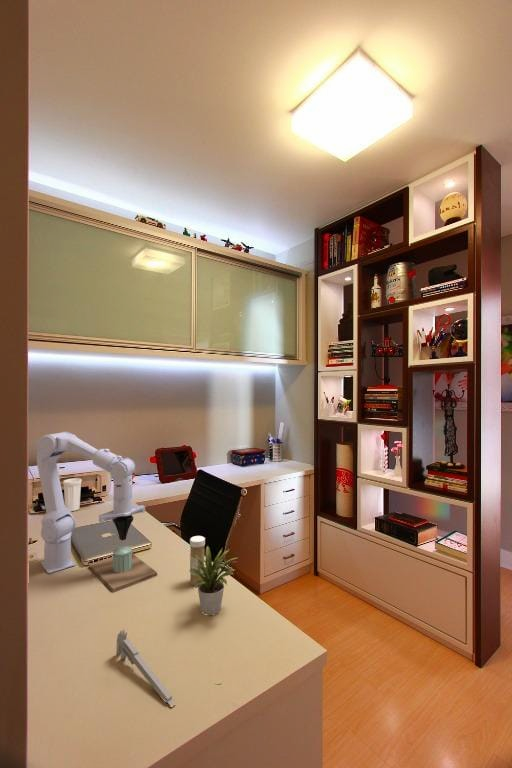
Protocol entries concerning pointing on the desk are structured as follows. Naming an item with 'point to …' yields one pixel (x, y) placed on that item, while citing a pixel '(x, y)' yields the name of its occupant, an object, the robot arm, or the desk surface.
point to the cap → (122, 559)
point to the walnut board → (125, 579)
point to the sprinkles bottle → (197, 549)
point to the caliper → (141, 665)
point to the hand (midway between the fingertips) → (122, 539)
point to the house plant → (211, 581)
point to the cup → (72, 493)
